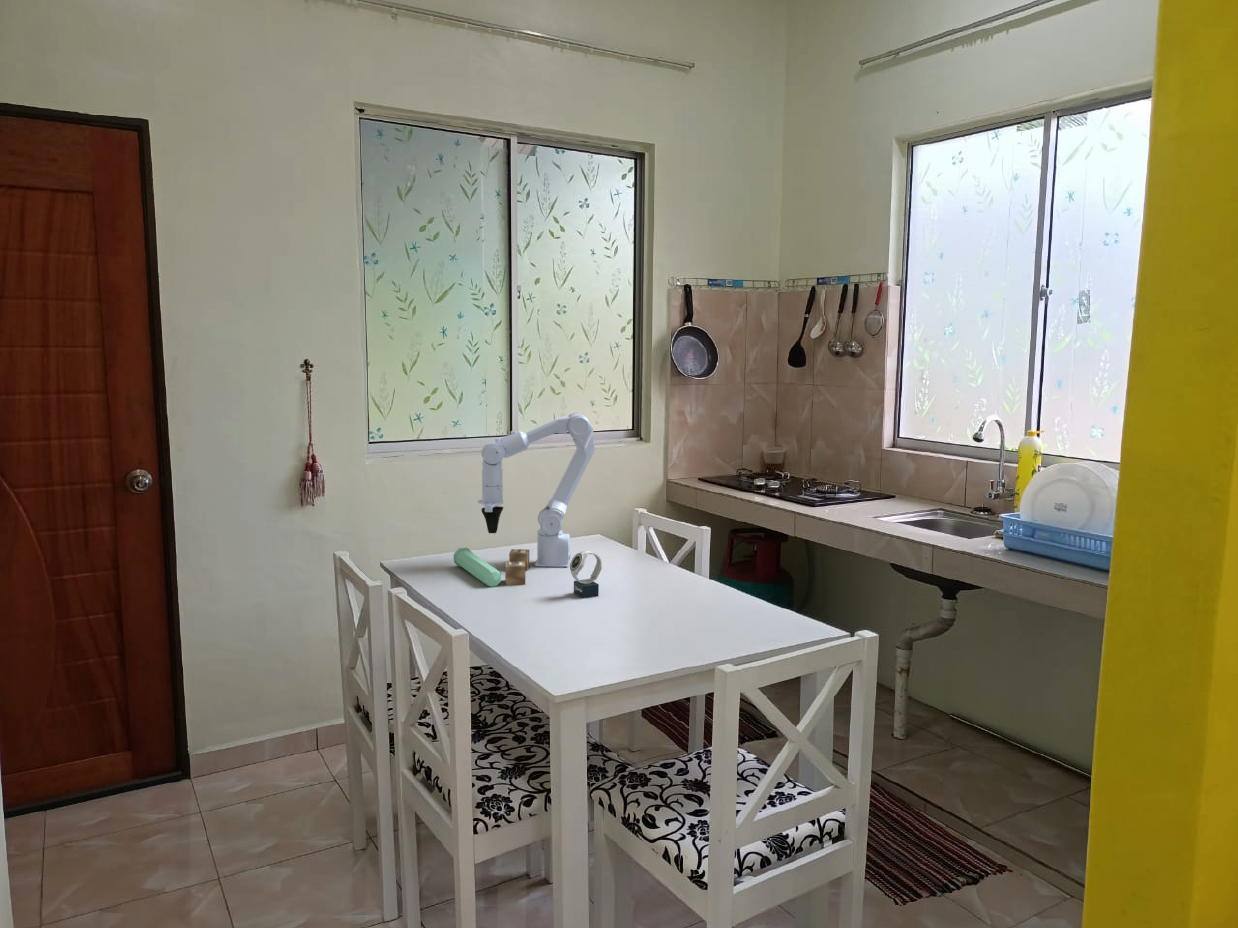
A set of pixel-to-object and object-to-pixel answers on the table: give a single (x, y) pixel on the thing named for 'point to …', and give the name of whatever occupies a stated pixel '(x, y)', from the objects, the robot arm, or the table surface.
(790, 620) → the table surface
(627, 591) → the table surface
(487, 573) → the container
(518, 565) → the labelled block
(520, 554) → the labelled block
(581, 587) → the watch
